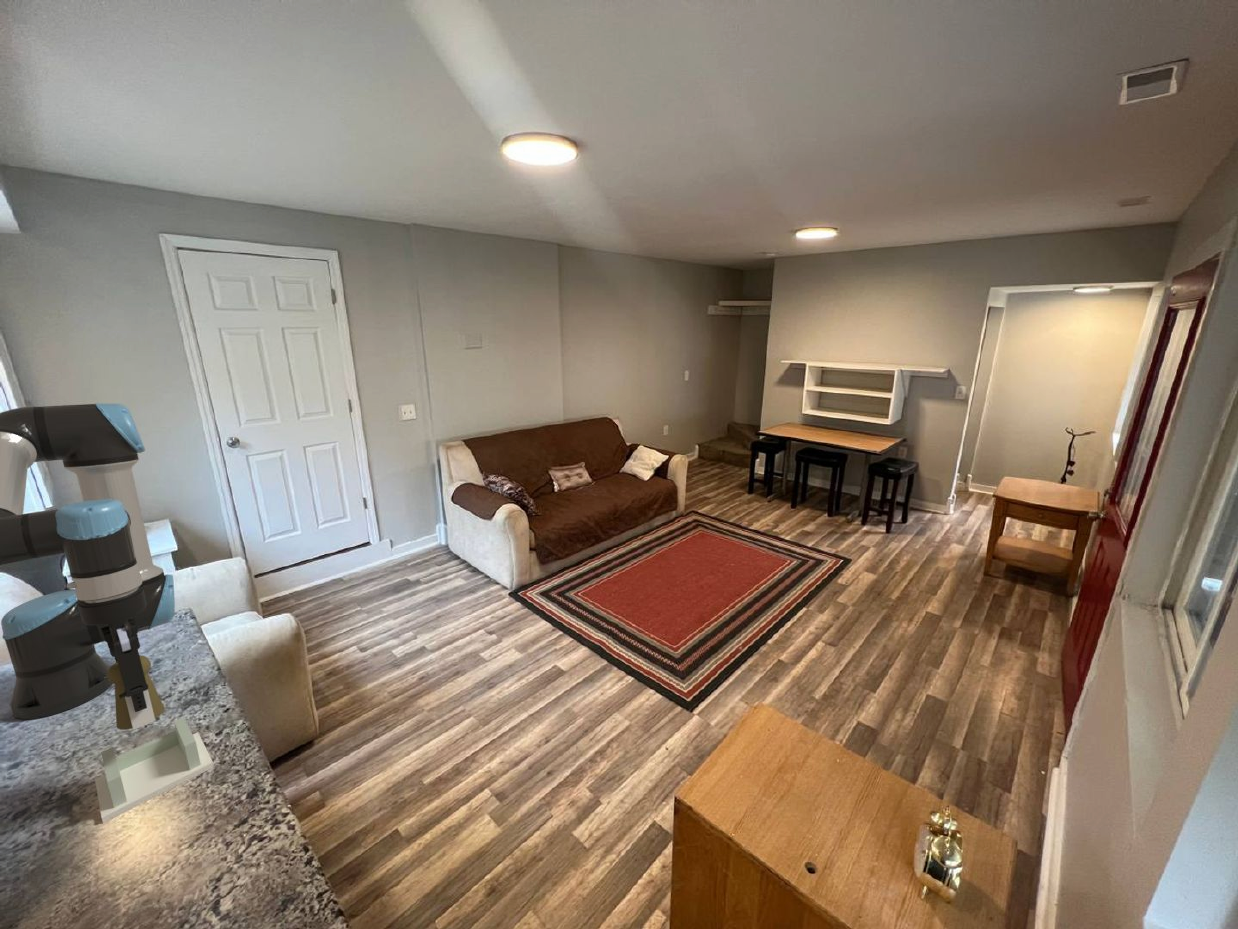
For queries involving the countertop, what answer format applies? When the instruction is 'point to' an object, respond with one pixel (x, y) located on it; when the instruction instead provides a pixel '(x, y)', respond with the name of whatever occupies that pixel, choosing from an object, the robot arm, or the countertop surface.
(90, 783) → the countertop surface
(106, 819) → the holder
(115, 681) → the brown rounded knob
